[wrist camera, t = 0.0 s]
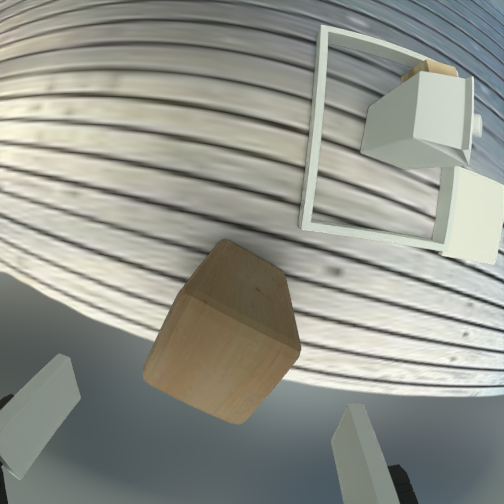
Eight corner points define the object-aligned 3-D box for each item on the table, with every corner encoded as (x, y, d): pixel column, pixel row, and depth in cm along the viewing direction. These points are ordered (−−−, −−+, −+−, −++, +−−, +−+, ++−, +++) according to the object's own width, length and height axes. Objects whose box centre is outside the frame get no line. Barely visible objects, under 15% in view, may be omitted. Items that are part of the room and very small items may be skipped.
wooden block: (287, 271, 38) (308, 353, 19) (251, 328, 41) (241, 431, 21) (222, 235, 38) (179, 287, 18) (190, 295, 40) (135, 381, 20)
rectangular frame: (316, 36, 31) (321, 24, 27) (446, 77, 30) (457, 71, 27) (297, 225, 37) (301, 229, 34) (435, 246, 37) (447, 252, 33)
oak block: (400, 77, 31) (426, 59, 23) (427, 82, 31) (455, 67, 23) (406, 107, 32) (433, 94, 25) (432, 112, 32) (462, 101, 24)
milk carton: (359, 153, 34) (437, 130, 16) (368, 106, 33) (441, 56, 14) (403, 169, 34) (495, 166, 16) (411, 124, 33) (498, 95, 14)
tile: (451, 165, 34) (454, 164, 33) (503, 186, 33) (507, 186, 32) (438, 254, 37) (441, 255, 36) (491, 263, 37) (494, 264, 36)
